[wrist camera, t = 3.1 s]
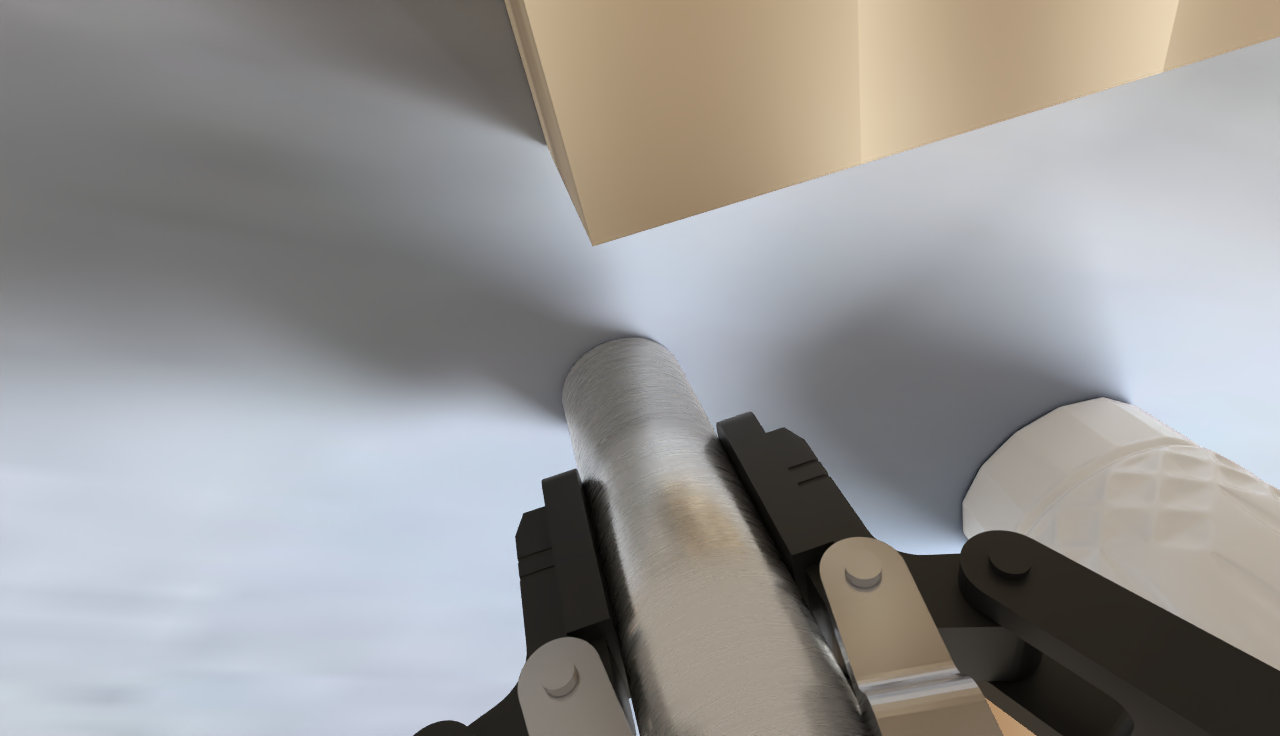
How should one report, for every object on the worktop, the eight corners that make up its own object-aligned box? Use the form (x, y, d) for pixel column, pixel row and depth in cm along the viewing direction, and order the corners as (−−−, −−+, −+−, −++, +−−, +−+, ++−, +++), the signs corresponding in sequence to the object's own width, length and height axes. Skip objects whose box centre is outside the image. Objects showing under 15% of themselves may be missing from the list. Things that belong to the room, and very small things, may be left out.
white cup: (1203, 402, 22) (1649, 677, 14) (1055, 568, 25) (1341, 866, 17) (1042, 357, 19) (1489, 672, 11) (899, 551, 22) (1155, 902, 14)
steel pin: (670, 321, 15) (920, 760, 7) (692, 419, 17) (912, 861, 9) (546, 360, 15) (655, 858, 7) (580, 455, 17) (700, 944, 9)
